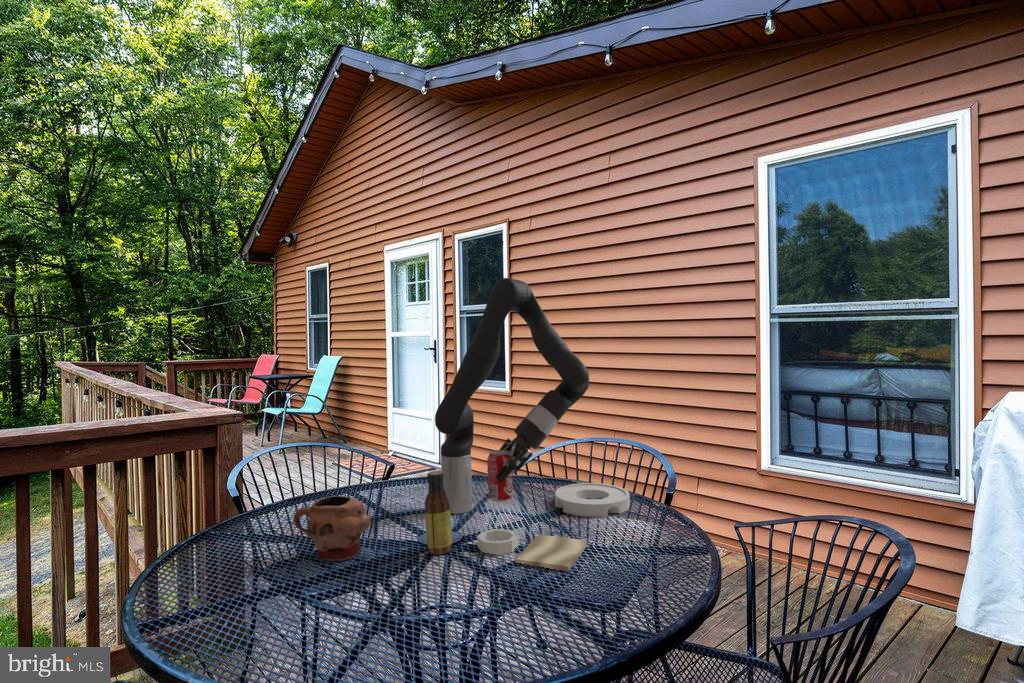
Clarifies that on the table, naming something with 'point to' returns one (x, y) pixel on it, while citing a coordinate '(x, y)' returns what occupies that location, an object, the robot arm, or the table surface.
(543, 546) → the birch board
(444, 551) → the sauce bottle
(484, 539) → the can holder
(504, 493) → the beverage can
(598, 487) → the ashtray
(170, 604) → the table surface
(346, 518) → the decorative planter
